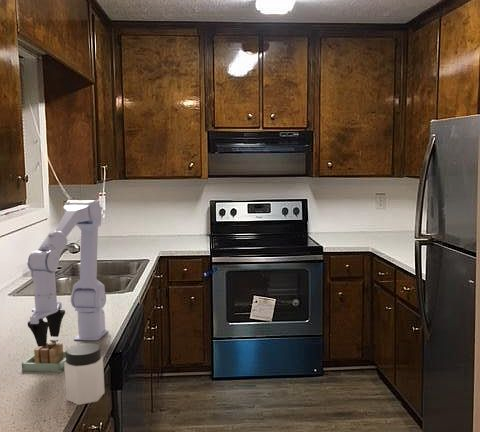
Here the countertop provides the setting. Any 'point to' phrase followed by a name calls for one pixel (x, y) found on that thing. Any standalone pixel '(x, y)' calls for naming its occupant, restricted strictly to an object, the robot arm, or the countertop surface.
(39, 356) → the wooden blocks
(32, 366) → the tray
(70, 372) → the jar
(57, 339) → the lever
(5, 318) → the countertop surface
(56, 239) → the robot arm
